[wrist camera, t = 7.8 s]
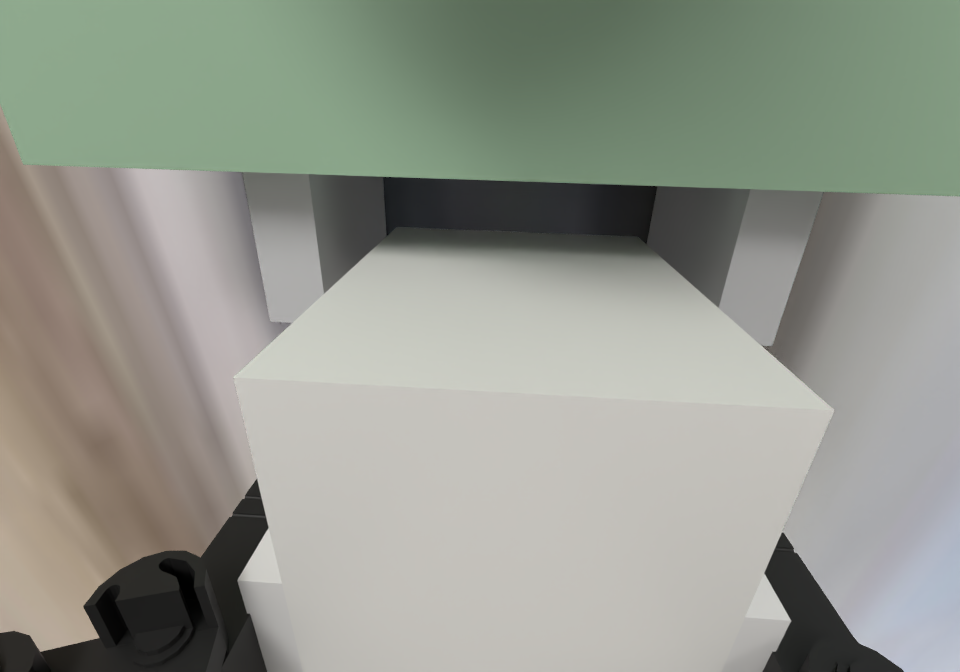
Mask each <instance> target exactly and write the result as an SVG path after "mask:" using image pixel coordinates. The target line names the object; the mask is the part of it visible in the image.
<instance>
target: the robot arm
mask: <svg viewBox="0 0 960 672" xmlns="http://www.w3.org/2000/svg"><path fill="white" fill-rule="evenodd" d="M793 549H794V548H793V546H792V545H791V543H790V542H789V540H788V539H787V537H786V536H785V534H784V533H781V536H780V538H779V540H778V542H777V545H776V547H775V549H774V552H773V554H772V556H771V559H770V561H769V563H768V566H767V568H766V570H765V572H764V575H763V577H762V579H761V582H760V584H759V586H758V589H757V591H756V593H755V596H754V598H753V600H752V602H751V605H750V607H749V609H748V612H747V614H746V616H745V619H744V621H743V623H742V626H741V628H740V630H739V633H738V635H737V637H736V639H735V642H734V644H733V646H732V649H731V651H730V653H729V656H728V658H727V660H726V663H725V665H724V667H723V669H722V672H904V671H903V670H902V669H901V668H899V667H898V666H897V665H895V664H894V663H892V662H891V661H889V660H888V659H887V658H885V657H884V656H882V655H881V654H879V653H878V652H877V651H874V650H872V649H870V648H868V647H865V646H863V645H861V644H859V643H858V642H857V641H856V639H855V638H854V637H853V636H852V634H851V633H850V631H849V630H848V628H847V627H846V625H845V624H844V622H843V621H842V619H841V618H840V616H839V615H838V613H837V612H836V610H835V609H834V607H833V606H832V604H831V603H830V601H829V600H828V599H827V597H826V596H825V594H824V593H823V591H822V590H821V588H820V587H819V585H818V584H817V582H816V581H815V579H814V578H813V576H812V575H811V573H810V572H809V570H808V569H807V567H806V566H805V564H804V563H803V561H802V560H801V558H800V557H799V555H798V554H797V553H794V550H793ZM83 607H84V609H85V611H86V613H87V615H88V616H89V618H90V620H91V622H92V624H93V626H94V628H95V630H96V631H97V633H98V635H99V637H100V638H98V639H94V640H90V641H85V642H81V643H77V644H73V645H68V646H64V647H60V648H56V649H51V650H47V651H43V652H40V651H39V649H38V648H37V646H36V645H35V643H34V642H33V640H32V638H31V637H30V636H29V635H26V634H22V633H19V632H15V631H12V632H5V633H0V672H303V670H302V666H301V662H300V657H299V653H298V649H297V645H296V641H295V636H294V632H293V628H292V624H291V620H290V615H289V611H288V607H287V603H286V598H285V594H284V590H283V586H282V582H281V577H280V573H279V569H278V565H277V561H276V556H275V552H274V548H273V544H272V539H271V535H270V531H269V527H268V523H267V518H266V514H265V510H264V506H263V502H262V497H261V493H260V489H259V485H258V481H257V479H256V481H255V482H254V484H253V485H252V486H251V488H250V489H249V491H248V492H247V493H246V495H245V499H242V500H241V502H240V503H239V505H238V506H237V507H236V509H235V510H234V512H233V516H232V517H229V519H228V520H227V521H226V523H225V524H224V526H223V527H222V528H221V530H220V531H219V533H218V534H217V535H216V537H215V538H214V540H213V541H212V542H211V544H210V545H209V547H208V548H207V549H206V551H205V552H204V554H203V555H202V556H201V558H200V557H198V556H196V555H194V554H191V553H189V552H187V551H164V552H161V553H157V554H154V555H150V556H147V557H143V558H141V559H140V560H138V561H136V562H134V563H132V564H130V565H128V566H126V567H124V568H122V569H120V570H119V571H118V572H117V573H115V574H114V575H113V576H112V577H110V578H109V579H108V580H107V581H105V582H104V583H103V584H102V585H100V586H99V587H98V588H97V590H96V591H95V592H94V594H93V595H92V596H91V597H90V599H89V600H88V601H87V602H86V604H85V605H84V606H83Z"/></svg>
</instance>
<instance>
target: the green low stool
mask: <svg viewBox="0 0 960 672" xmlns="http://www.w3.org/2000/svg"><path fill="white" fill-rule="evenodd" d="M0 104H1V107H2V110H3V112H4V115H5V117H6V120H7V123H8V125H9V128H10V131H11V133H12V136H13V138H14V141H15V144H16V146H17V149H18V152H19V154H20V157H21V160H22V162H23V165H53V166H82V167H111V168H141V169H170V170H200V171H229V172H242V174H243V180H244V185H245V190H246V196H247V201H248V206H249V212H250V217H251V222H252V228H253V233H254V238H255V244H256V249H257V254H258V259H259V265H260V270H261V275H262V281H263V286H264V291H265V297H266V302H267V307H268V313H269V318H270V322H289V323H293V322H294V321H295V320H296V319H297V318H298V317H299V316H301V315H302V314H303V313H304V312H305V311H306V310H307V309H308V308H309V307H310V306H311V305H312V304H314V303H315V302H316V301H317V300H318V299H319V298H320V297H321V296H322V295H323V294H324V293H326V292H327V291H328V290H329V289H330V288H331V287H332V286H333V285H334V284H335V283H336V282H338V281H339V280H340V279H341V278H342V277H343V276H344V275H345V274H346V273H347V272H348V271H349V270H351V269H352V268H353V267H354V266H355V265H356V264H357V263H358V262H359V261H360V260H361V259H363V258H364V257H365V256H366V255H367V254H368V253H369V252H370V251H371V250H372V249H373V248H374V247H376V246H377V245H378V244H379V243H380V242H381V241H382V240H383V239H384V238H385V237H386V236H387V234H386V218H385V202H384V186H383V177H406V178H435V179H465V180H494V181H523V182H553V183H582V184H612V185H641V186H657V191H656V197H655V202H654V208H653V213H652V218H651V224H650V229H649V235H648V240H647V245H648V246H649V247H650V248H651V249H652V250H653V251H654V252H656V253H657V254H658V255H659V256H660V257H661V258H662V259H663V260H665V261H666V262H667V263H668V264H669V265H670V266H671V267H673V268H674V269H675V270H676V271H677V272H678V273H679V274H680V275H682V276H683V277H684V278H685V279H686V280H687V281H688V282H690V283H691V284H692V285H693V286H694V287H695V288H696V289H698V290H699V291H700V292H701V293H702V294H703V295H704V296H705V297H707V298H708V299H709V300H710V301H711V302H712V303H713V304H715V305H716V306H717V307H718V308H719V309H720V310H721V311H722V312H724V313H725V314H726V315H727V316H728V317H729V318H730V319H732V320H733V321H734V322H735V323H736V324H737V325H738V326H739V327H741V328H742V329H743V330H744V331H745V332H746V333H747V334H749V335H750V336H751V337H752V338H753V339H754V340H755V341H757V342H758V343H759V344H760V345H761V346H772V345H773V342H774V339H775V336H776V333H777V330H778V327H779V324H780V321H781V318H782V315H783V312H784V309H785V306H786V303H787V300H788V297H789V294H790V291H791V288H792V286H793V283H794V280H795V277H796V274H797V271H798V268H799V265H800V262H801V259H802V256H803V253H804V250H805V247H806V244H807V241H808V238H809V235H810V232H811V229H812V226H813V223H814V220H815V217H816V214H817V211H818V208H819V205H820V202H821V199H822V196H823V193H824V192H847V193H877V194H906V195H936V196H960V0H0Z"/></svg>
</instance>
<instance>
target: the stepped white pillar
mask: <svg viewBox="0 0 960 672" xmlns="http://www.w3.org/2000/svg"><path fill="white" fill-rule="evenodd" d="M233 379H234V384H235V388H236V392H237V396H238V400H239V405H240V409H241V413H242V417H243V422H244V426H245V430H246V434H247V438H248V443H249V447H250V451H251V455H252V459H253V464H254V468H255V472H256V476H257V481H258V485H259V489H260V493H261V497H262V502H263V506H264V510H265V514H266V518H267V523H268V527H269V531H270V535H271V539H272V544H273V548H274V552H275V556H276V561H277V565H278V569H279V573H280V577H281V582H282V586H283V590H284V594H285V598H286V603H287V607H288V611H289V615H290V620H291V624H292V628H293V632H294V636H295V641H296V645H297V649H298V653H299V657H300V662H301V666H302V670H303V672H722V669H723V667H724V665H725V663H726V660H727V658H728V656H729V653H730V651H731V649H732V646H733V644H734V642H735V639H736V637H737V635H738V633H739V630H740V628H741V626H742V623H743V621H744V619H745V616H746V614H747V612H748V609H749V607H750V605H751V602H752V600H753V598H754V596H755V593H756V591H757V589H758V586H759V584H760V582H761V579H762V577H763V575H764V572H765V570H766V568H767V566H768V563H769V561H770V559H771V556H772V554H773V552H774V549H775V547H776V545H777V542H778V540H779V538H780V536H781V533H782V531H783V529H784V526H785V524H786V522H787V519H788V517H789V515H790V512H791V510H792V508H793V506H794V503H795V501H796V499H797V496H798V494H799V492H800V489H801V487H802V485H803V482H804V480H805V478H806V476H807V473H808V471H809V469H810V466H811V464H812V462H813V459H814V457H815V455H816V452H817V450H818V448H819V446H820V443H821V441H822V439H823V436H824V434H825V432H826V429H827V427H828V425H829V422H830V420H831V418H832V415H833V413H834V411H835V410H834V409H833V408H831V407H830V406H829V405H828V404H827V403H826V402H825V401H823V400H822V399H821V398H820V397H819V396H818V395H817V394H816V393H814V392H813V391H812V390H811V389H810V388H809V387H808V386H806V385H805V384H804V383H803V382H802V381H801V380H800V379H798V378H797V377H796V376H795V375H794V374H793V373H792V372H791V371H789V370H788V369H787V368H786V367H785V366H784V365H783V364H781V363H780V362H779V361H778V360H777V359H776V358H775V357H774V356H772V355H771V354H770V353H769V352H768V351H767V350H766V349H764V348H763V347H762V346H761V345H760V344H759V343H758V342H757V341H755V340H754V339H753V338H752V337H751V336H750V335H749V334H747V333H746V332H745V331H744V330H743V329H742V328H741V327H739V326H738V325H737V324H736V323H735V322H734V321H733V320H732V319H730V318H729V317H728V316H727V315H726V314H725V313H724V312H722V311H721V310H720V309H719V308H718V307H717V306H716V305H715V304H713V303H712V302H711V301H710V300H709V299H708V298H707V297H705V296H704V295H703V294H702V293H701V292H700V291H699V290H698V289H696V288H695V287H694V286H693V285H692V284H691V283H690V282H688V281H687V280H686V279H685V278H684V277H683V276H682V275H680V274H679V273H678V272H677V271H676V270H675V269H674V268H673V267H671V266H670V265H669V264H668V263H667V262H666V261H665V260H663V259H662V258H661V257H660V256H659V255H658V254H657V253H656V252H654V251H653V250H652V249H651V248H650V247H649V246H648V245H646V244H645V243H644V242H643V241H642V240H641V239H640V238H638V237H637V236H612V235H587V234H562V233H537V232H512V231H487V230H461V229H436V228H411V227H396V228H395V229H394V230H393V231H392V232H391V233H390V234H389V235H388V236H386V237H385V238H384V239H383V240H382V241H381V242H380V243H379V244H378V245H377V246H376V247H374V248H373V249H372V250H371V251H370V252H369V253H368V254H367V255H366V256H365V257H364V258H363V259H361V260H360V261H359V262H358V263H357V264H356V265H355V266H354V267H353V268H352V269H351V270H349V271H348V272H347V273H346V274H345V275H344V276H343V277H342V278H341V279H340V280H339V281H338V282H336V283H335V284H334V285H333V286H332V287H331V288H330V289H329V290H328V291H327V292H326V293H324V294H323V295H322V296H321V297H320V298H319V299H318V300H317V301H316V302H315V303H314V304H312V305H311V306H310V307H309V308H308V309H307V310H306V311H305V312H304V313H303V314H302V315H301V316H299V317H298V318H297V319H296V320H295V321H294V322H293V323H292V324H291V325H290V326H289V327H287V328H286V329H285V330H284V331H283V332H282V333H281V334H280V335H279V336H278V337H277V338H276V339H274V340H273V341H272V342H271V343H270V344H269V345H268V346H267V347H266V348H265V349H264V350H262V351H261V352H260V353H259V354H258V355H257V356H256V357H255V358H254V359H253V360H252V361H251V362H249V363H248V364H247V365H246V366H245V367H244V368H243V369H242V370H241V371H240V372H239V373H237V374H236V375H235V376H234V377H233Z"/></svg>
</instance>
